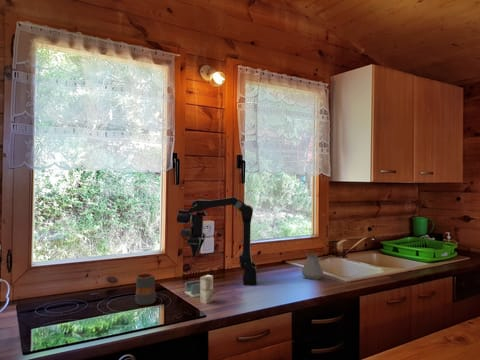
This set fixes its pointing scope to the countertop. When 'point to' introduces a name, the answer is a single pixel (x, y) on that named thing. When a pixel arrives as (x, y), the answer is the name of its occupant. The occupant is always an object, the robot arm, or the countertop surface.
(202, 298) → the ash slab
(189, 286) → the grey channel bracket
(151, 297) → the mug
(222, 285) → the countertop surface
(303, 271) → the coffee pot
